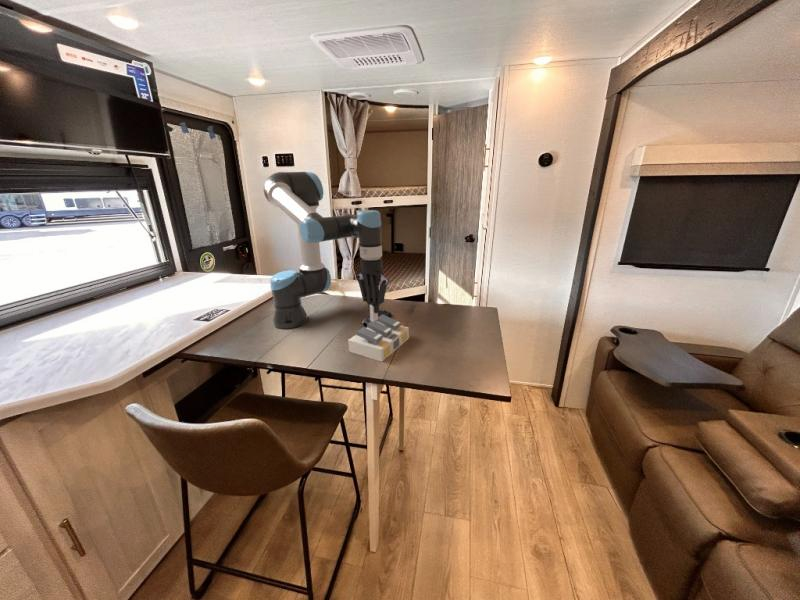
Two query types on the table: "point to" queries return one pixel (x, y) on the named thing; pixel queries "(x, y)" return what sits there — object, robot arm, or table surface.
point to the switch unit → (379, 344)
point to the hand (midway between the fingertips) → (374, 320)
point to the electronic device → (388, 314)
